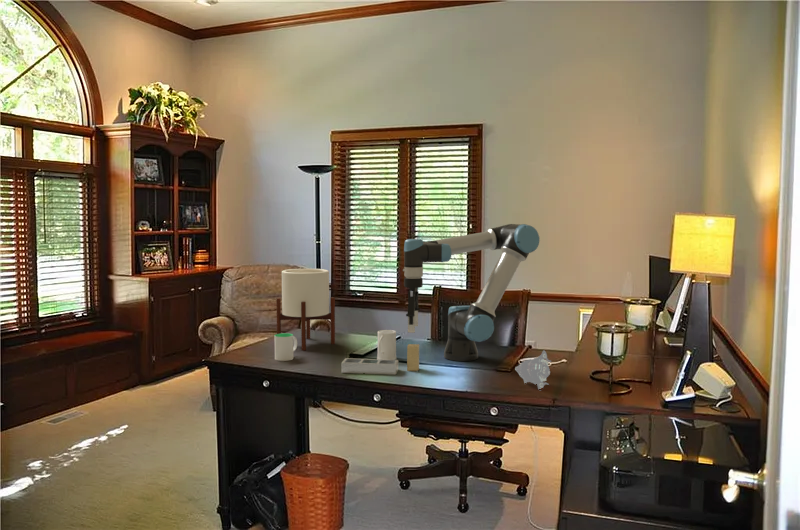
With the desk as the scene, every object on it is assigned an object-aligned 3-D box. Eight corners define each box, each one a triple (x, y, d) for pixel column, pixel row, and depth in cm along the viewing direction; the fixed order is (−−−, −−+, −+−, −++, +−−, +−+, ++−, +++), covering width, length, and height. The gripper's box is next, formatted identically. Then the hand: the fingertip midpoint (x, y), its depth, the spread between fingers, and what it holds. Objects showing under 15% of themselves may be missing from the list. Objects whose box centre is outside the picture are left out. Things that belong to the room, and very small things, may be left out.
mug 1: (288, 353, 284) (288, 331, 283) (302, 355, 280) (302, 332, 279) (270, 359, 273) (270, 335, 272) (285, 361, 269) (285, 337, 268)
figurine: (508, 386, 233) (537, 386, 223) (513, 347, 238) (541, 345, 228) (526, 393, 239) (555, 393, 228) (531, 355, 244) (559, 353, 233)
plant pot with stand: (338, 343, 305) (338, 270, 302) (303, 351, 288) (302, 274, 285) (308, 337, 320) (308, 267, 317) (272, 344, 303) (271, 270, 300)
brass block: (419, 368, 259) (419, 344, 258) (418, 371, 255) (418, 346, 254) (408, 368, 260) (408, 344, 259) (407, 370, 255) (407, 346, 254)
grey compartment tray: (398, 369, 257) (398, 359, 256) (395, 374, 249) (395, 364, 249) (345, 367, 259) (345, 358, 259) (341, 372, 251) (341, 362, 251)
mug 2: (386, 363, 267) (386, 335, 266) (369, 360, 272) (369, 333, 271) (400, 357, 277) (400, 330, 276) (383, 355, 282) (383, 328, 281)
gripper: (407, 274, 267) (407, 323, 269) (400, 280, 242) (400, 335, 244) (425, 274, 266) (424, 323, 268) (419, 281, 241) (419, 335, 243)
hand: (413, 329), depth 256 cm, fingers open, 13 cm apart
